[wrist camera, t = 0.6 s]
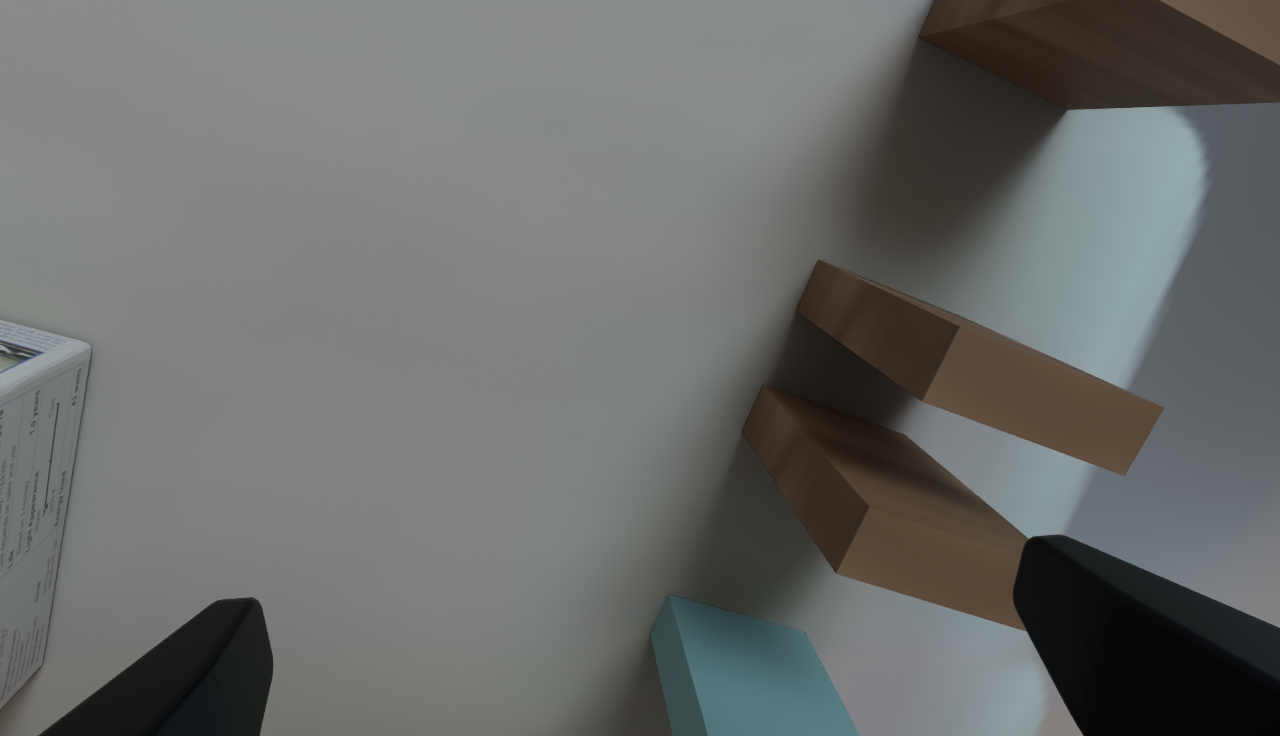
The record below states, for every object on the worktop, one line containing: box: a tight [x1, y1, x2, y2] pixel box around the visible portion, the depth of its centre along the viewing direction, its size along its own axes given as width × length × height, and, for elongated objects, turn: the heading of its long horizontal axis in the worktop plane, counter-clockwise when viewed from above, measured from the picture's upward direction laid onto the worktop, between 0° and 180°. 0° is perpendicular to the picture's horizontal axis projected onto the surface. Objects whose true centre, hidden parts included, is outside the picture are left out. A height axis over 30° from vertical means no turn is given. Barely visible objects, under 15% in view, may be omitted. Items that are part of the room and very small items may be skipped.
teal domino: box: [651, 594, 860, 736], centre depth 22 cm, size 2×5×8 cm, turn 68°
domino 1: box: [919, 0, 1280, 110], centre depth 18 cm, size 2×5×8 cm, turn 68°
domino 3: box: [742, 385, 1028, 631], centre depth 20 cm, size 2×5×8 cm, turn 69°
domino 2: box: [796, 260, 1164, 476], centre depth 19 cm, size 2×5×8 cm, turn 69°
